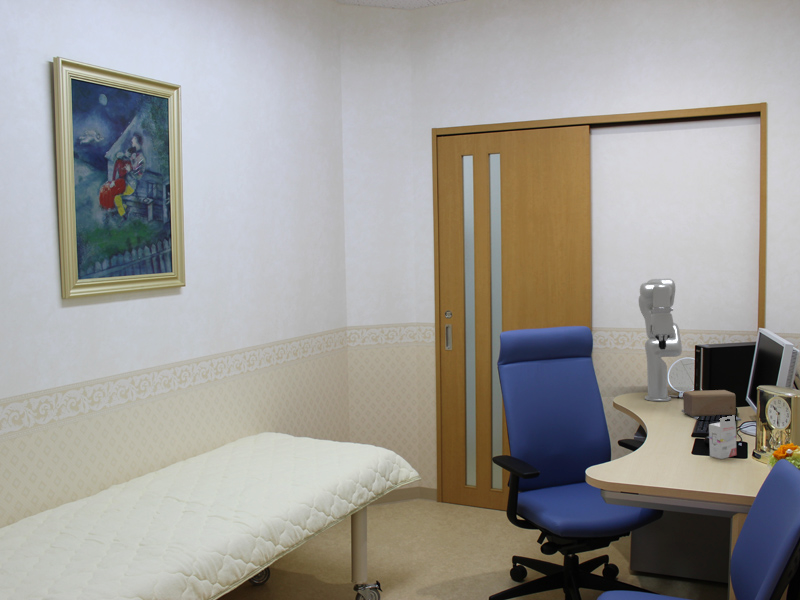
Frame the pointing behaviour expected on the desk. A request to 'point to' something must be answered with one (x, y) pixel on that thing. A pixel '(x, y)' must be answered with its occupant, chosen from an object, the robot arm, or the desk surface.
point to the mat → (698, 416)
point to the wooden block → (709, 403)
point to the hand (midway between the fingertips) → (662, 349)
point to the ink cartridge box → (723, 438)
